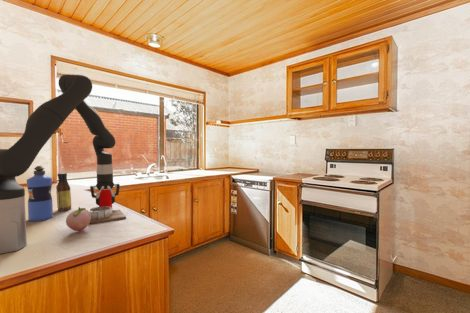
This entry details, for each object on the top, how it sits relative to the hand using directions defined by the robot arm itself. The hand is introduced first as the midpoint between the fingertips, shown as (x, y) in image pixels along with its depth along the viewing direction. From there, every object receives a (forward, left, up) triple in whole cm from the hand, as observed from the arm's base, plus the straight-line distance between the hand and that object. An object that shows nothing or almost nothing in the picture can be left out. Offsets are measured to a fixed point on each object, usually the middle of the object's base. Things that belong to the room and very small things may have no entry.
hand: (105, 204), depth 127 cm
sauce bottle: (+16, +18, -4) cm, 24 cm away
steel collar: (-13, +4, -4) cm, 14 cm away
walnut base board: (-13, +4, -4) cm, 14 cm away
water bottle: (+3, +27, -4) cm, 27 cm away
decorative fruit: (-29, +13, -4) cm, 32 cm away
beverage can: (0, 0, -4) cm, 4 cm away
